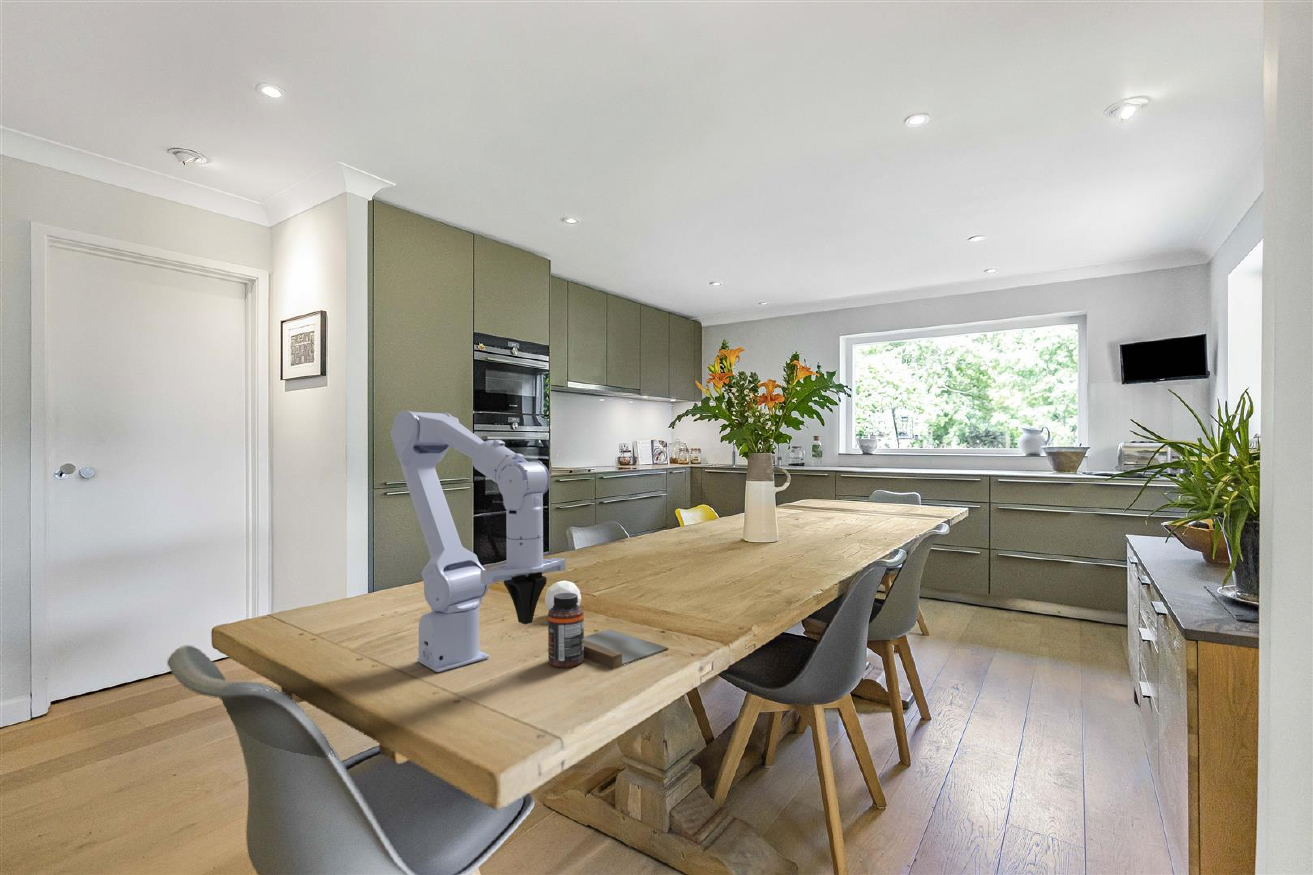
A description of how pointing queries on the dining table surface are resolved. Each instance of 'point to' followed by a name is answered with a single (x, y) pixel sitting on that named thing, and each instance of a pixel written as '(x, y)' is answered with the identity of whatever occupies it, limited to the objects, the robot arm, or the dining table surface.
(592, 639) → the stop bar and mat
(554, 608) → the supplement bottle
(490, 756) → the dining table surface
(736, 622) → the dining table surface
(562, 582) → the geometric ball
